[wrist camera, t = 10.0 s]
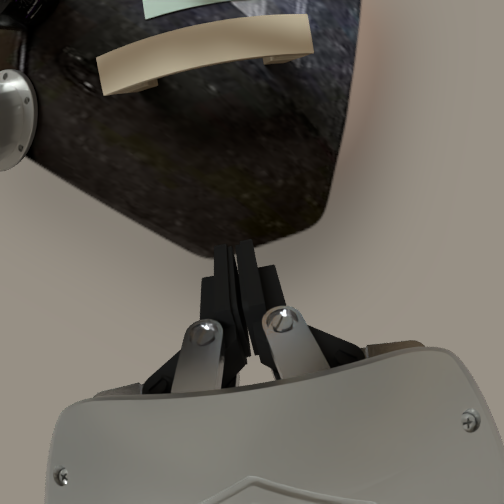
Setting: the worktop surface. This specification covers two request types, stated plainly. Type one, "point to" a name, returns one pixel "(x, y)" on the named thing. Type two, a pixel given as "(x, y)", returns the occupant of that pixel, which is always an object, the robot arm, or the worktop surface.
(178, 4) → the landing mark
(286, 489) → the robot arm
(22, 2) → the supplement bottle
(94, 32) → the worktop surface
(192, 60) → the bridge
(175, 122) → the worktop surface
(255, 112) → the worktop surface
